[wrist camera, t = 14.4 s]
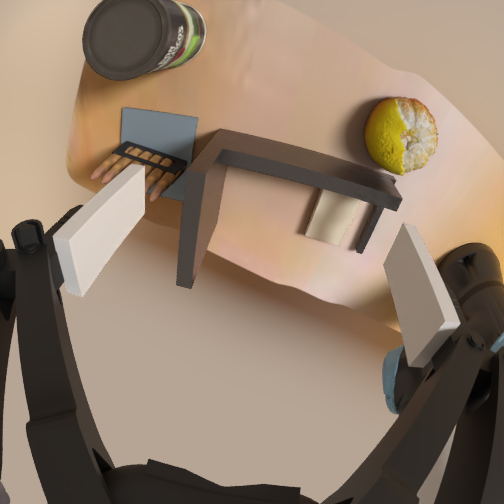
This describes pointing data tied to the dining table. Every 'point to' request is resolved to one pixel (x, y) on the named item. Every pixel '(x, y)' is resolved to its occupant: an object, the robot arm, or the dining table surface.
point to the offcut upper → (331, 217)
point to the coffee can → (141, 37)
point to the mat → (162, 138)
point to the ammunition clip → (156, 165)
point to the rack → (276, 164)
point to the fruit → (400, 135)
